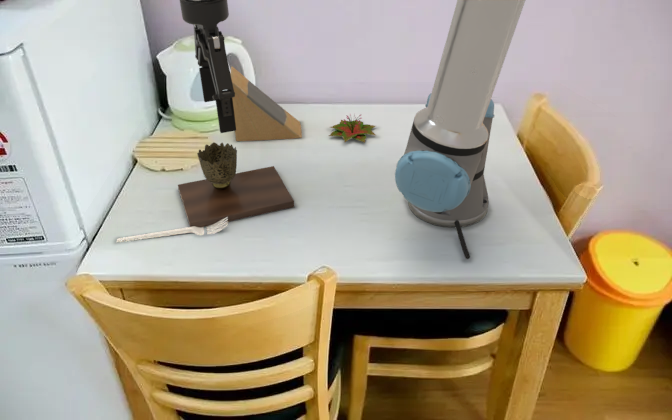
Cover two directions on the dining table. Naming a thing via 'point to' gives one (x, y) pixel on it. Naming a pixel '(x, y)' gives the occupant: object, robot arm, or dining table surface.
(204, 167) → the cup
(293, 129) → the sandwich container
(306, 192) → the dining table surface
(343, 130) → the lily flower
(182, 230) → the fork
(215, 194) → the walnut board
